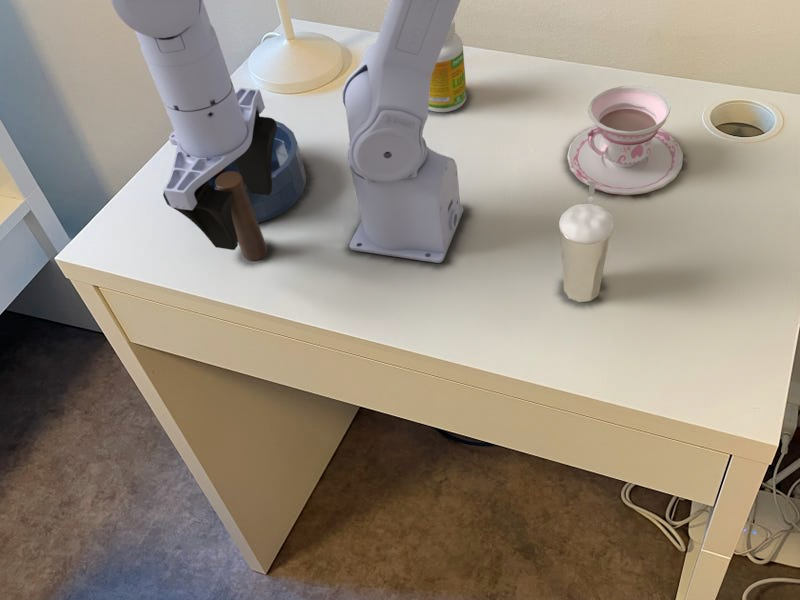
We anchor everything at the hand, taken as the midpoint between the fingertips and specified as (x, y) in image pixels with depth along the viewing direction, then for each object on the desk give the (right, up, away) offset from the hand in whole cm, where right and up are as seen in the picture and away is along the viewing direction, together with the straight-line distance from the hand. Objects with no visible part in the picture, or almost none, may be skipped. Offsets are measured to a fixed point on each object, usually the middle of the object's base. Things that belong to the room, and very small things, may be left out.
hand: (244, 218), depth 77 cm
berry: (-6, +7, +10) cm, 14 cm away
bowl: (-2, +5, +10) cm, 11 cm away
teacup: (+37, +8, +9) cm, 39 cm away
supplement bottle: (+18, +17, +18) cm, 30 cm away
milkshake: (+32, -7, -2) cm, 32 cm away
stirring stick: (0, -3, +3) cm, 4 cm away
